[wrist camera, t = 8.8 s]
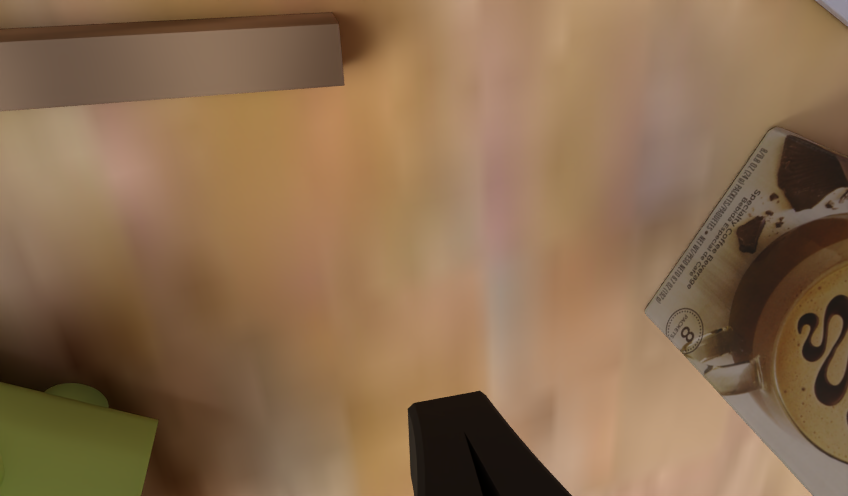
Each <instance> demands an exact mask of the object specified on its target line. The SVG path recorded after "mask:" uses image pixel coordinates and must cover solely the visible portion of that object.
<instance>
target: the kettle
mask: <svg viewBox="0 0 848 496" xmlns="http://www.w3.org/2000/svg"><path fill="white" fill-rule="evenodd" d="M157 425H158V420H157V419H153V418H148V417H144V416H140V415H136V414H132V413H128V412H124V411H120V410H115V409H111V408H109V405H108V401H107V399H106V397H105V396H104V395H103V394H102V393H101V392H99V391H98V390H97V389H95V388H93V387H90V386H87V385H84V384H78V383H65V384H59V385H56V386H53V387H51V388H49V389H47V390H46V391H45V392H40V391H36V390H32V389H28V388H24V387H20V386H15V385H11V384H7V383H3V382H0V496H141V493H142V489H143V485H144V481H145V476H146V472H147V468H148V464H149V459H150V455H151V451H152V447H153V442H154V438H155V434H156V429H157Z"/></svg>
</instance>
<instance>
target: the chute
mask: <svg viewBox="0 0 848 496" xmlns="http://www.w3.org/2000/svg"><path fill="white" fill-rule="evenodd" d="M331 86H344V75H343V64H342V53H341V42H340V31H339V23H338V22H337V20H336V18H335V17H334V15H333V13H332V12H329V13H309V14H289V15H269V16H250V17H230V18H210V19H190V20H170V21H151V22H131V23H111V24H91V25H71V26H52V27H32V28H12V29H0V111H11V110H24V109H38V108H51V107H64V106H78V105H91V104H104V103H118V102H131V101H144V100H158V99H171V98H184V97H197V96H211V95H224V94H237V93H251V92H264V91H277V90H291V89H304V88H317V87H331Z"/></svg>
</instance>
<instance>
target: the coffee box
mask: <svg viewBox="0 0 848 496" xmlns="http://www.w3.org/2000/svg"><path fill="white" fill-rule="evenodd" d="M645 314H646V315H647V316H648V317H649V318H650V320H651V321H652V322H653V323H654V324H655V325H656V326H657V327H658V328H659V329H660V330H661V331H662V332H663V333H664V334H665V335H666V337H667V338H668V339H669V340H670V341H671V342H672V343H673V344H674V345H675V346H676V347H677V348H678V349H679V350H680V351H681V352H682V353H683V354H684V356H685V357H686V358H687V359H688V360H689V361H690V362H691V364H692V365H693V366H694V367H695V368H696V369H697V370H698V371H699V372H700V373H701V374H702V375H703V377H704V378H705V379H706V380H707V381H708V382H709V383H710V384H711V385H712V386H713V387H714V388H715V389H716V391H717V392H718V393H719V394H720V395H721V396H722V397H723V398H724V399H725V400H726V402H727V403H728V404H729V405H730V406H731V407H732V408H733V409H734V410H735V411H736V413H737V414H738V415H739V416H740V417H741V418H742V419H743V420H744V421H745V422H746V424H747V425H748V426H749V427H750V428H751V429H752V430H753V431H754V432H755V433H756V434H757V435H758V437H759V438H760V439H761V440H762V441H763V442H764V443H765V444H766V445H767V446H768V447H769V448H770V450H771V451H772V452H773V453H774V454H775V455H776V456H777V457H778V458H779V459H780V460H781V461H782V462H783V464H784V465H785V466H786V467H787V468H788V469H789V470H790V471H791V472H792V473H793V474H794V476H795V477H796V478H797V479H798V480H799V481H800V482H801V483H802V484H803V485H804V487H805V488H806V489H807V490H808V491H809V492H810V493H811V494H812V495H813V496H848V157H847V156H845V155H843V154H841V153H838V152H836V151H834V150H831V149H829V148H827V147H824V146H822V145H820V144H818V143H815V142H813V141H811V140H809V139H807V138H804V137H802V136H800V135H798V134H795V133H793V132H790V131H788V130H785V129H783V128H780V127H774V128H773V129H771V130H769V131H768V132H767V134H766V135H765V137H764V138H763V140H762V141H761V143H760V144H759V146H758V147H757V149H756V150H755V152H754V153H753V155H752V156H751V157H750V159H749V160H748V162H747V163H746V165H745V166H744V168H743V169H742V171H741V172H740V173H739V175H738V176H737V178H736V179H735V181H734V182H733V184H732V185H731V186H730V188H729V189H728V191H727V192H726V194H725V195H724V197H723V198H722V199H721V201H720V202H719V204H718V205H717V207H716V208H715V209H714V211H713V212H712V214H711V215H710V217H709V218H708V220H707V221H706V223H705V224H704V226H703V227H702V228H701V230H700V231H699V233H698V234H697V236H696V237H695V239H694V240H693V241H692V243H691V244H690V246H689V247H688V249H687V250H686V252H685V253H684V254H683V256H682V257H681V259H680V260H679V262H678V263H677V264H676V266H675V267H674V269H673V270H672V272H671V273H670V274H669V276H668V277H667V279H666V280H665V282H664V283H663V284H662V286H661V287H660V289H659V290H658V292H657V293H656V294H655V296H654V297H653V299H652V300H651V302H650V303H649V305H648V306H647V307H646V309H645Z"/></svg>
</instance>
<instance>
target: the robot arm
mask: <svg viewBox="0 0 848 496" xmlns="http://www.w3.org/2000/svg"><path fill="white" fill-rule="evenodd" d="M815 1H816V2H818V3H819V4H820V5H821V6H823V7H824V8H825V9H826V10H828V11H829V12H830V13H831V14H832V15H834V16H835V17H836V18H837V19H839V20H840V21H841V22H842V23H844V24H845V25H846V26H847V27H848V0H815ZM408 424H409V446H410V469H411V479H412V484H413V490H414V496H572V495H571V494H570V493H569V492H568V491H567V490H566V489H565V488H564V487H563V486H562V485H561V483H560V482H559V481H558V480H557V479H556V478H555V477H554V476H553V475H552V474H551V473H550V472H549V471H548V469H547V468H546V467H545V466H544V465H543V464H542V463H541V462H540V461H539V460H538V458H537V457H536V456H535V455H534V454H533V453H532V452H531V450H530V449H529V448H528V447H527V446H526V445H525V443H524V442H523V441H522V440H521V439H520V438H519V436H518V435H517V434H516V433H515V432H514V430H513V429H512V428H511V427H510V426H509V424H508V423H507V422H506V421H505V419H504V418H503V417H502V416H501V414H500V413H499V412H498V411H497V409H496V408H495V407H494V406H493V404H492V403H491V402H490V400H489V399H488V398H487V396H486V395H485V394H484V393H482V392H481V391H476V392H471V393H466V394H460V395H455V396H449V397H444V398H439V399H433V400H428V401H422V402H417V403H414V404H412V405H411V406H410V407H409V408H408Z"/></svg>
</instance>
